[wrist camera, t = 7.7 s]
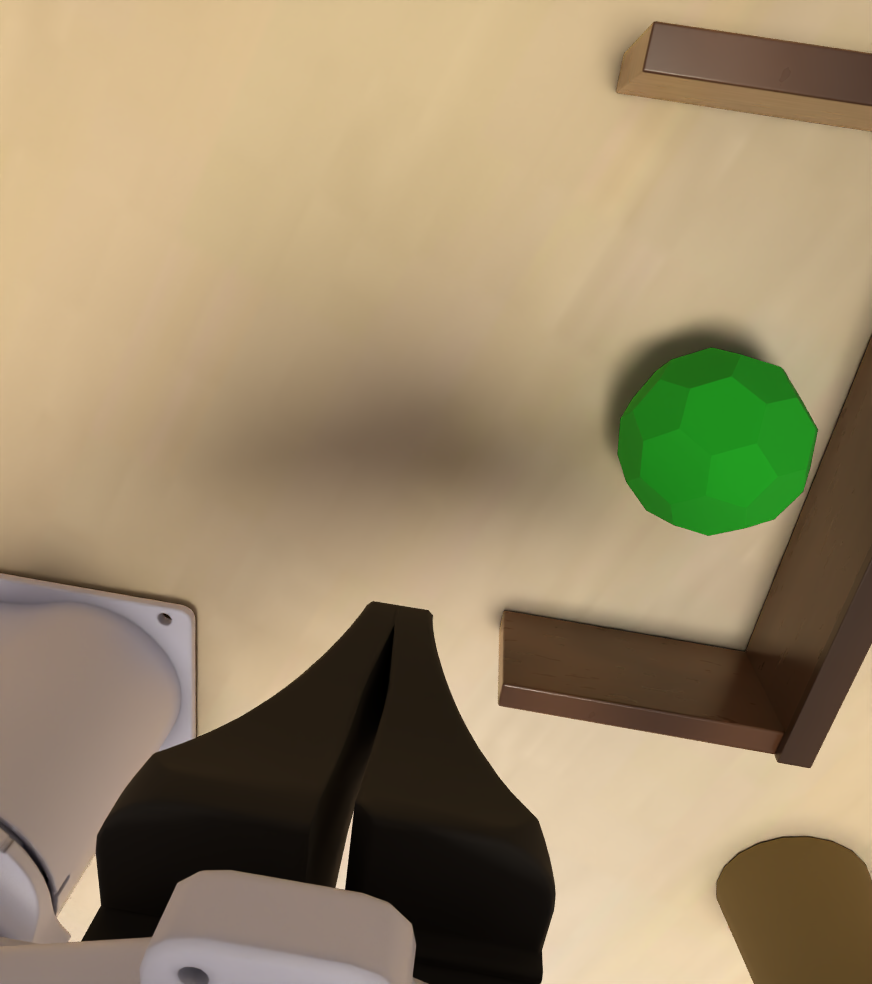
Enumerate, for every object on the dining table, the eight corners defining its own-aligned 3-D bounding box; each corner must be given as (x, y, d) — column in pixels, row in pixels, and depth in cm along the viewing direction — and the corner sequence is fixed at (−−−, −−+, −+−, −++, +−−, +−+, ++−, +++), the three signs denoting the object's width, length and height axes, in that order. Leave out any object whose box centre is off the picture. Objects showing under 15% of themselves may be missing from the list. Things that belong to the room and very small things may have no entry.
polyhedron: (629, 507, 23) (657, 585, 18) (590, 364, 21) (611, 413, 17) (791, 464, 22) (862, 536, 17) (764, 310, 20) (836, 347, 16)
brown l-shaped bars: (499, 630, 25) (497, 713, 21) (623, 52, 18) (656, 17, 14) (763, 675, 25) (810, 768, 21) (1002, 108, 17) (1144, 89, 14)
